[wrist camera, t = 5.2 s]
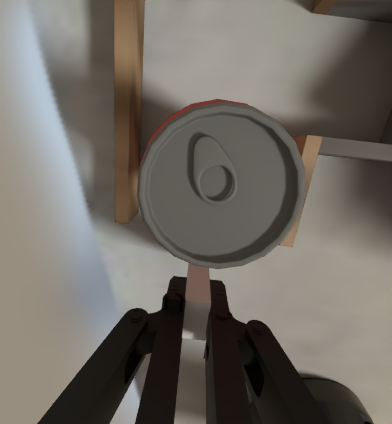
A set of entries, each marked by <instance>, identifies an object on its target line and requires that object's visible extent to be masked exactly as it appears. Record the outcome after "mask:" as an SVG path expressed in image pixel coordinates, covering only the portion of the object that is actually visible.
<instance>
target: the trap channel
mask: <svg viewBox="0 0 392 424" xmlns="http://www.w3.org/2000/svg"><path fill="white" fill-rule="evenodd" d="M144 5H145V0H114V73H115V222H117V223H126V224H128V223H129V222H130V221H131V220H132V219H133V218H134V217H135V215H136V214H137V213H138V204H139V202H138V198H137V185H138V170H139V167H140V137H141V104H142V71H143V38H144ZM312 13H317V14H325V15H334V16H342V17H350V18H358V19H366V20H374V21H382V22H390V23H392V0H314V5H313V9H312ZM292 139H293V140H294V141H295V142H296V144H297V147H298V150H299V153H300V155H301V158H302V161H303V164H304V166H305V193H306V195H305V198H304V201H303V205H302V208H301V211H300V214H299V217H298V220H297V222H296V223H295V225H294V226H293V227H292V229H291V230H290V232H289V233H288V235H287V236H286V238H285V239H284V241H282V242H281V243H280V244H279V245H280V246H288V247H293V243H294V240H295V236H296V232H297V229H298V225H299V221H300V218H301V214H302V210H303V207H304V203H305V199H306V196H307V192H308V188H309V185H310V181H311V177H312V174H313V170H314V166H315V163H316V159H317V155H327V156H335V157H344V158H353V159H361V160H370V161H379V162H388V163H392V111H391V114H390V117H389V120H388V123H387V125H386V128H385V131H384V134H383V137H382V140H381V142H380V143H373V142H364V141H355V140H347V139H338V138H330V137H321V136H313V135H303V136H295V137H292Z"/></svg>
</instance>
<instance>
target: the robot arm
mask: <svg viewBox="0 0 392 424" xmlns="http://www.w3.org/2000/svg"><path fill="white" fill-rule="evenodd" d="M182 338H187V339H197V340H205V339H206V346H205V352H204V359H205V370H206V424H374V423H373V421H372V419H371V417H370V416H369V414H368V413H367V411H366V409H365V408H364V406H363V405H362V403H361V401H360V400H359V398H358V397H357V396H356V395H355V394H354V393H353V392H352V391H351V390H349V389H348V388H346V387H344V386H342V385H340V384H338V383H335V382H331V381H327V380H320V379H302V378H301V377H300V375H299V374H298V372H297V371H296V369H295V367H294V366H293V364H292V363H291V361H290V360H289V358H288V357H287V355H286V354H285V352H284V350H283V349H282V347H281V346H280V344H279V343H278V341H277V340H276V338H275V337H274V335H273V333H272V332H271V330H270V329H269V328H268V326H267V325H266V324H264V323H263V322H261V321H258V320H251V321H249V322H248V323H247V324H245V323H242V322H240V321H238V320H236V319H235V318H233V316H232V314H231V313H230V312H229V307H228V301H227V296H226V289H225V285H224V284H223V282H222V281H219V280H210V278H209V268H208V267H202V266H195V265H193V264H190V263H189V264H188V273H187V278H186V277H177V276H173V278H172V279H171V280H170V282H169V287H168V291H167V294H165V295H164V297H163V302H162V309H161V310H160V311H158V312H155V313H150V314H148V313H147V312H146V311H145V310H143V309H140V308H135V309H131V310H129V311H128V312H127V313H125V315H124V316H123V317H122V318H121V320H120V321H119V322H118V323H117V325H116V326H115V327H114V328H113V330H112V331H111V332H110V334H109V335H108V336H107V337H106V339H105V340H104V341H103V342H102V343H101V345H100V346H99V347H98V348H97V350H96V351H95V352H94V354H93V355H92V356H91V357H90V358H89V360H88V361H87V362H86V363H85V365H84V366H83V367H82V368H81V370H80V371H79V372H78V373H77V375H76V376H75V377H74V379H73V380H72V381H71V382H70V383H69V385H68V386H67V387H66V389H65V390H64V391H63V392H62V393H61V395H60V396H59V397H58V399H57V400H56V401H55V402H54V403H53V405H52V406H51V407H50V409H49V410H48V411H47V412H46V414H45V415H44V416H43V417H42V418H41V420H40V421H39V422H38V423H37V424H109V423H110V421H111V420H112V418H113V416H114V414H115V412H116V410H117V408H118V407H119V405H120V403H121V401H122V399H123V397H124V395H125V393H126V392H127V390H128V388H129V386H130V384H131V382H132V380H133V378H134V376H135V375H136V373H137V371H138V369H139V367H140V365H141V363H142V361H143V360H144V358H145V355H146V354H150V353H152V354H151V358H150V362H149V367H148V371H147V375H146V379H145V384H144V388H143V392H142V396H141V400H140V405H139V409H138V413H137V417H136V422H135V424H174V416H175V406H176V395H177V385H178V374H179V364H180V353H181V343H182ZM245 381H246V384H247V386H248V388H249V391H250V393H251V396H252V398H253V401H254V402H253V403H252V404H251V406H250V405H249V400H248V395H247V389H246V384H245Z"/></svg>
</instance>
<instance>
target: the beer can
mask: <svg viewBox="0 0 392 424" xmlns="http://www.w3.org/2000/svg"><path fill="white" fill-rule="evenodd" d="M305 195H306V193H305V166H304V164H303V161H302V158H301V155H300V153H299V150H298V147H297V144H296V142H295V141H294V140H293V139H292V137H291V136H290V135H289V134H288V133H287V131H286V130H285V129H284V128H283V127H282V125H281V124H280V123H279V122H278V121H277V120H275V119H274V118H272V117H270V116H268V115H266V114H265V113H263V112H261V111H259V110H258V109H256V108H254V107H252V106H249V105H248V104H245V103H239V102H233V101H227V100H221V99H215V100H210V101H205V102H199V103H194V104H190V105H189V106H187V107H185V108H183V109H182V110H180V111H178V112H177V113H175V114H173V115H171V116H170V117H168V118H167V119H166V120H165V122H164V123H163V124H162V125H161V126H160V127H159V129H158V130H157V131H156V132H155V133H154V134H153V136H152V137H151V138H150V140H149V143H148V145H147V148H146V150H145V153H144V155H143V158H142V160H141V162H140V167H139V170H138V185H137V198H138V202H139V206H140V210H141V214H142V218H143V221H144V222H145V224H146V225H147V227H148V229H149V230H150V232H151V233H152V235H153V237H154V238H155V240H156V241H157V242H158V243H159V244H161V245H162V246H163V247H164V248H165V249H166V250H167V251H169V252H170V253H171V254H172V255H173V256H175V257H177V258H179V259H182V260H184V261H186V262H188V263H190V264H193V265H195V266H202V267H208V268H215V269H222V268H229V267H237V266H243V265H245V264H247V263H250V262H252V261H254V260H257V259H259V258H261V257H264V256H265V255H266V254H268V253H269V252H270V251H271V250H273V249H274V248H275V247H276V246H277V245H279V244H280V243H281V242H282V241H284V239H285V238H286V236H287V235H288V233H289V232H290V230H291V229H292V227H293V226H294V225H295V223H296V222H297V220H298V217H299V214H300V211H301V208H302V205H303V201H304V198H305Z"/></svg>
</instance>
